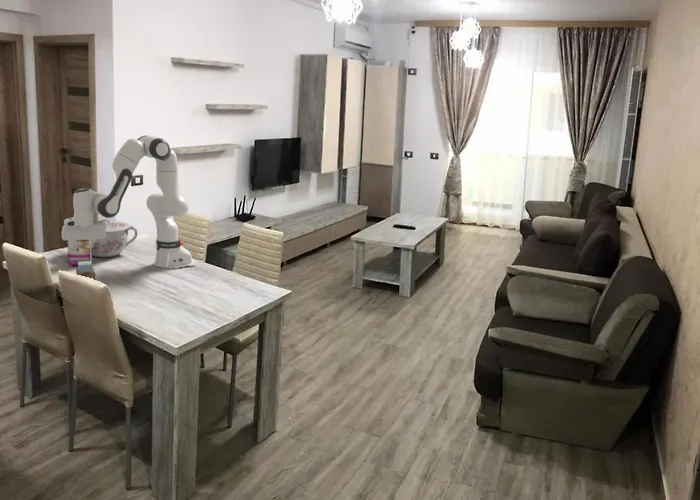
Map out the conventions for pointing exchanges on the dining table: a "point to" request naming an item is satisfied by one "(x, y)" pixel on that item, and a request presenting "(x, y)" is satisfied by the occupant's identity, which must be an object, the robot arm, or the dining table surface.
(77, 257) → the candy bar box
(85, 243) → the maple block
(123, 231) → the chamber pot
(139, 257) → the dining table surface
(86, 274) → the walnut block
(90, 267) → the slate block
